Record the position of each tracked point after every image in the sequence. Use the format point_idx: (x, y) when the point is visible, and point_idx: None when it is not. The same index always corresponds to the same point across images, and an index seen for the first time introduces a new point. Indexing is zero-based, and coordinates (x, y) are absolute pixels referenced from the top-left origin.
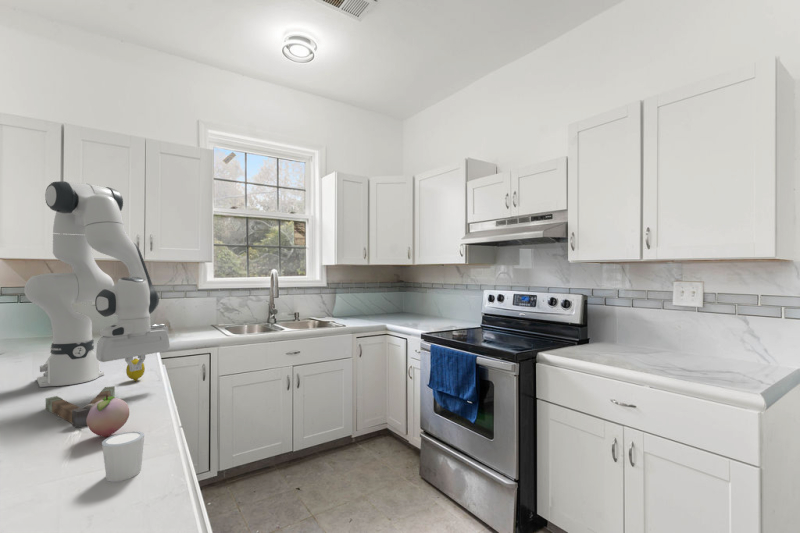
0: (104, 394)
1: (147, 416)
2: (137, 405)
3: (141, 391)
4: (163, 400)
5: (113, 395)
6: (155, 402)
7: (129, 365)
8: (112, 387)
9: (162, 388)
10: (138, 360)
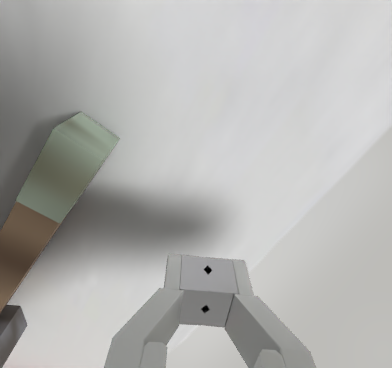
0: (22, 255)
1: None
2: (127, 296)
3: (234, 167)
4: None
5: (102, 163)
6: None
7: (158, 298)
8: (84, 177)
9: (302, 207)
10: None
